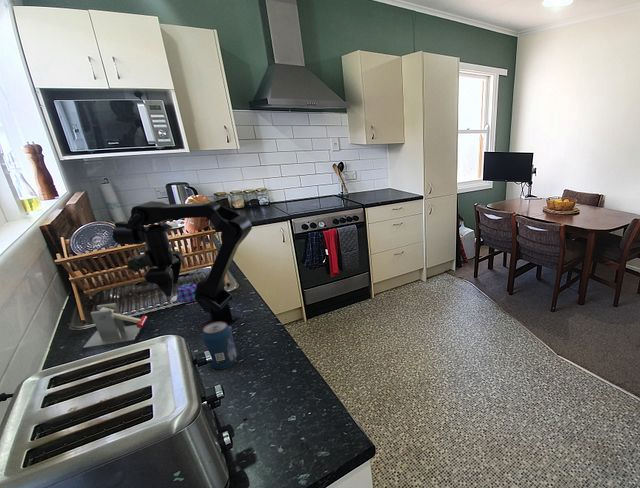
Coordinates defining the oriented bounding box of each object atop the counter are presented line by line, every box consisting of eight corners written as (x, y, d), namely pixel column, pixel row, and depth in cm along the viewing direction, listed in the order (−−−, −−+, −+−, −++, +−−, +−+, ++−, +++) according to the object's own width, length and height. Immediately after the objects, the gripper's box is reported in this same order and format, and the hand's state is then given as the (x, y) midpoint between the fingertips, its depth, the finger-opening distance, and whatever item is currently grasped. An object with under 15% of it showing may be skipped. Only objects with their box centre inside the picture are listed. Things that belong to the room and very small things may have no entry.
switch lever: (146, 321, 110) (148, 315, 110) (140, 329, 106) (143, 323, 105) (101, 311, 104) (104, 304, 104) (94, 319, 100) (97, 312, 100)
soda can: (211, 357, 100) (202, 322, 95) (238, 352, 102) (230, 318, 97) (208, 373, 94) (198, 336, 89) (237, 367, 97) (228, 331, 92)
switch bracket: (144, 327, 112) (133, 297, 108) (134, 342, 105) (122, 312, 100) (97, 333, 108) (84, 303, 104) (84, 350, 101) (69, 319, 96)
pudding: (204, 288, 137) (201, 276, 135) (212, 300, 129) (209, 287, 127) (168, 297, 130) (164, 285, 128) (174, 310, 122) (170, 297, 120)
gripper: (135, 237, 110) (150, 281, 116) (113, 258, 94) (132, 308, 101) (176, 234, 114) (188, 276, 120) (162, 253, 98) (177, 301, 105)
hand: (172, 289), depth 111 cm, fingers open, 9 cm apart
